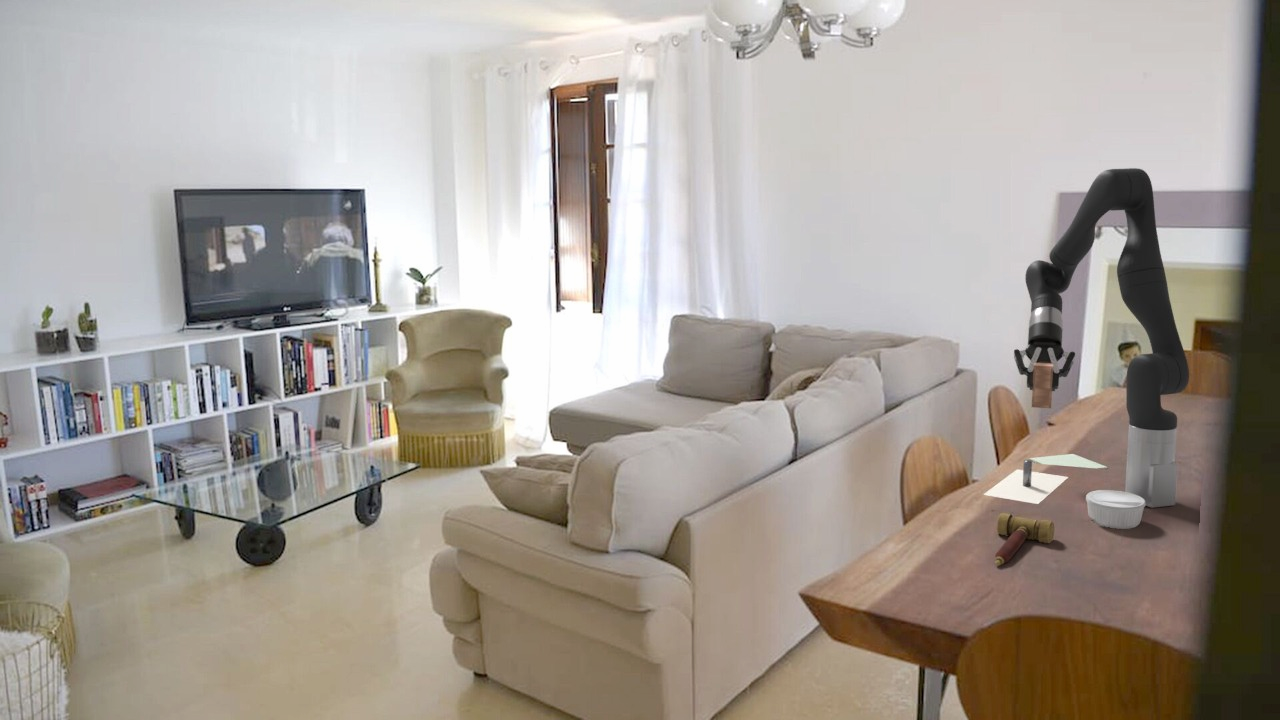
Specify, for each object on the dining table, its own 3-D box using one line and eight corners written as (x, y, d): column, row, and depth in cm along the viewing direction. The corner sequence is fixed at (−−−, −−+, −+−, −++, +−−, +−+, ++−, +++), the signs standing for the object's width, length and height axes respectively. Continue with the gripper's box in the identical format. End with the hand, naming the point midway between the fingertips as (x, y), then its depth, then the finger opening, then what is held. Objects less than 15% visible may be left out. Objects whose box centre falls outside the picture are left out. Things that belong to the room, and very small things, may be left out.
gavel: (1025, 558, 171) (970, 547, 177) (1024, 581, 172) (969, 569, 178) (1055, 518, 187) (1003, 509, 193) (1054, 539, 188) (1003, 530, 194)
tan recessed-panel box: (1051, 404, 222) (1053, 363, 221) (1051, 408, 219) (1053, 366, 217) (1031, 403, 224) (1034, 362, 222) (1031, 407, 220) (1033, 365, 218)
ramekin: (1111, 534, 190) (1113, 509, 189) (1072, 516, 200) (1073, 493, 200) (1156, 527, 193) (1158, 502, 192) (1116, 510, 203) (1117, 487, 202)
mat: (1107, 468, 233) (1107, 467, 233) (1061, 473, 230) (1061, 472, 230) (1072, 455, 245) (1072, 453, 245) (1028, 459, 243) (1028, 458, 243)
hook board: (1037, 508, 206) (1039, 477, 205) (982, 498, 213) (983, 469, 212) (1068, 481, 224) (1069, 452, 223) (1016, 473, 232) (1017, 445, 230)
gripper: (1013, 319, 227) (1009, 378, 219) (1078, 321, 222) (1076, 381, 213) (1013, 337, 233) (1009, 395, 224) (1076, 340, 227) (1075, 399, 219)
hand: (1042, 388), depth 219 cm, fingers closed on tan recessed-panel box, 4 cm apart
